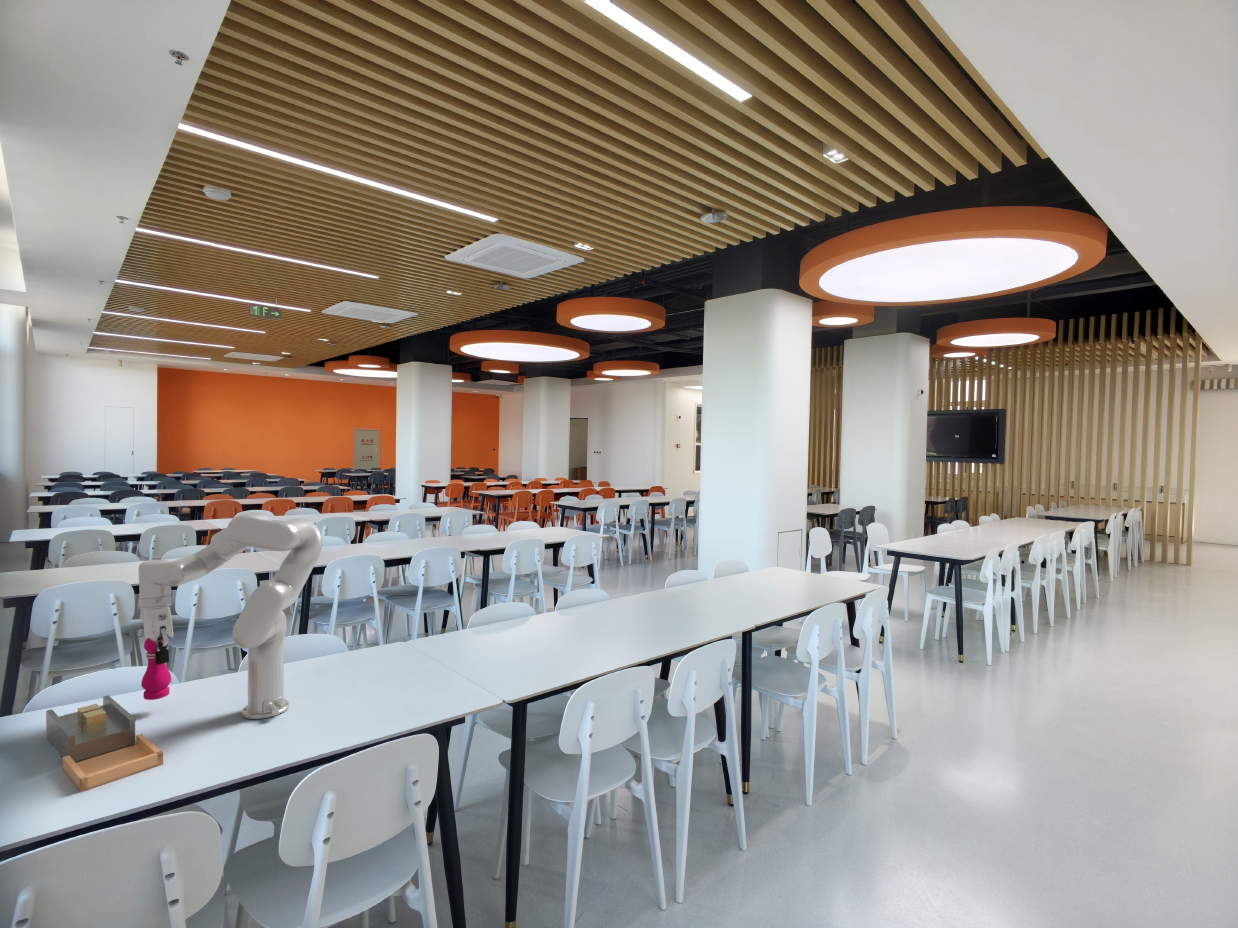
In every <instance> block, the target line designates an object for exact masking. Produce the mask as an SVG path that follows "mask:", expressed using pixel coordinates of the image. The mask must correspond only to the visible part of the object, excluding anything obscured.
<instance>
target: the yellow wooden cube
mask: <svg viewBox="0 0 1238 928" xmlns="http://www.w3.org/2000/svg"><path fill="white" fill-rule="evenodd" d="M102 728H106V712H105V711H104V710H103V709H98V710H94V711H90V712H87V713H83V729H84V730H85V731H86V732H87V733H88V732H91V731H95V730H98V729H102Z"/></svg>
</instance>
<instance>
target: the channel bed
mask: <svg viewBox="0 0 1238 928" xmlns="http://www.w3.org/2000/svg"><path fill="white" fill-rule="evenodd" d="M99 706H100V707H101V709H103V710H104V711H105V712H106V728H102V729H98V730H95V731H91V732H88V733H87V732H86V731H85V730H84V729H83V727H81V726H80V725H79V724H78V711H75V712H71V713H67V714H63V715H58V714H57V713H56V712H55V711H54V710H53V708H52V709H48V710H46V712H45V714H46V716H45V718H46V719H45V720H46V721H45V722H46V723H45V726H46V727H45V728H46V737H47V738H48V739H47V738H46V739H47V741H48V742H49V741H50V742H51V743H52V744H51V743H50V742H49V743H50V744H51V745H52V747H53V746H54V747H55V748H54V747H53V748H54V749H55V750H56V751H58V752H59V753H58V752H57V753H58V755H60V757H61V756H62V757H61V758H62V759H63V757H65V756H68V755H69V756H70V757H71V758H72V759H73V760H74V762H75V763H77V762H81V761H84V760H87V759H90V758H94V757H97V756H100V755H103V754H107V753H110V752H113V751H116V750H119V749H123V748H126V747H129V746H132V745H136V718H135V716H134V715H132V714H131V713H129V711H127V709H125V708H124V707H123V706H122V705H120V704H119V703H118V702H117V701H116V700H115V699H113V698H112V697H111V696H110V695H105V696H102V705H99Z"/></svg>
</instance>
